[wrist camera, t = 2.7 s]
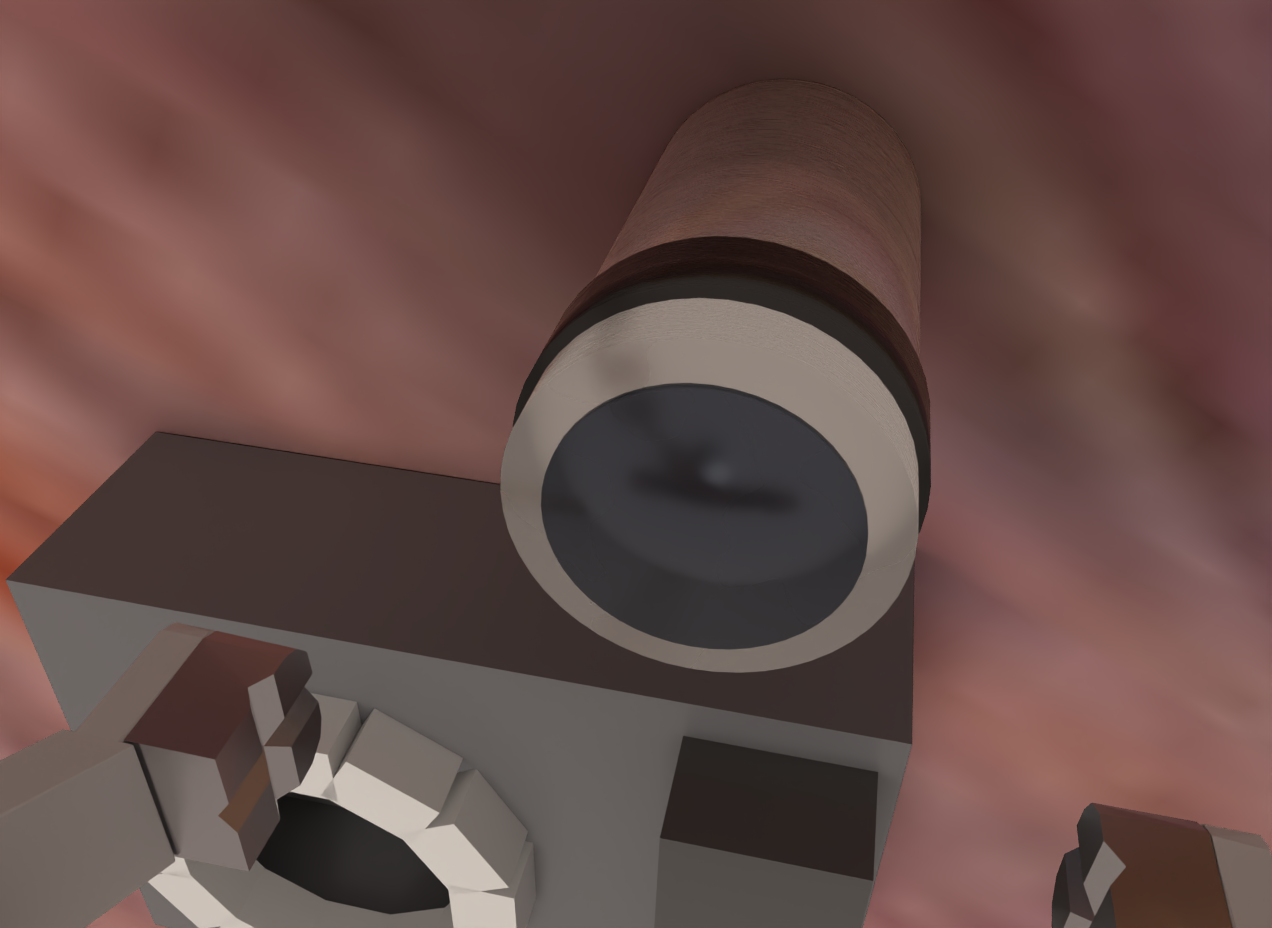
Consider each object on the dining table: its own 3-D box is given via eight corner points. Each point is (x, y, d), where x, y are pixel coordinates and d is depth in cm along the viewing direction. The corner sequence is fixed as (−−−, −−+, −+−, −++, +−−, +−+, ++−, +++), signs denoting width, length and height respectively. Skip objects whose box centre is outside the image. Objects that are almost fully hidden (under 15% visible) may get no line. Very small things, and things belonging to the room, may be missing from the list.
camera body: (155, 431, 29) (-98, 681, 22) (914, 548, 26) (909, 884, 19) (252, 765, 37) (92, 1025, 30) (836, 884, 34) (812, 1205, 27)
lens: (648, 58, 21) (471, 303, 13) (955, 85, 20) (975, 368, 12) (640, 322, 24) (497, 649, 16) (902, 355, 23) (889, 719, 15)
